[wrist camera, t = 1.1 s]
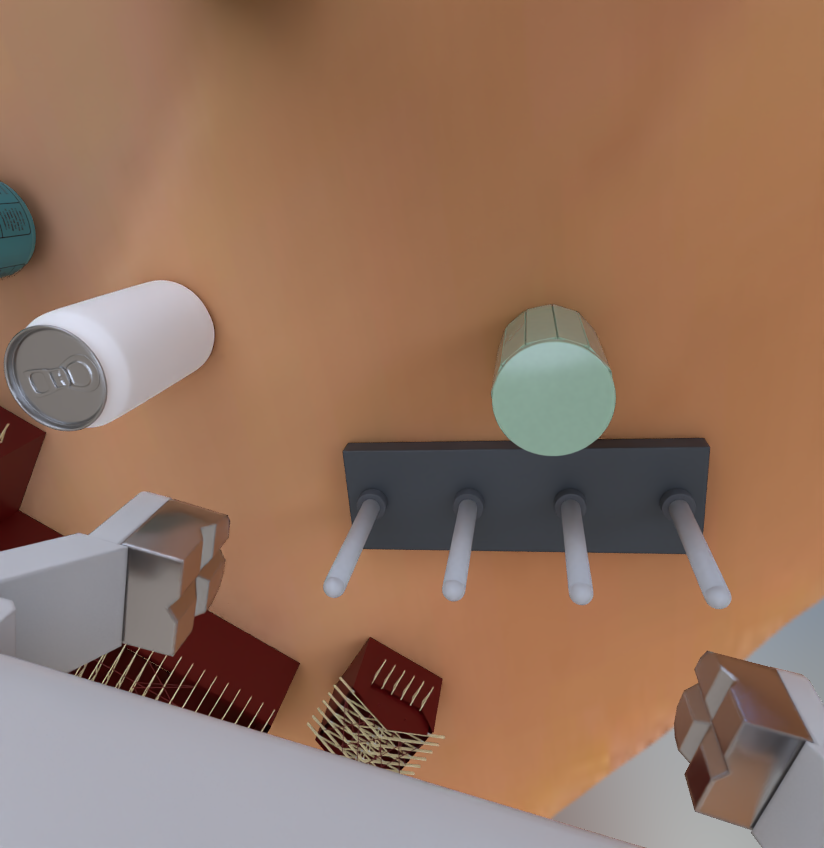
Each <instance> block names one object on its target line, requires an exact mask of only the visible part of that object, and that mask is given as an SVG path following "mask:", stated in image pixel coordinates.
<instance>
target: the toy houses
mask: <svg viewBox="0 0 824 848" xmlns="http://www.w3.org/2000/svg"><path fill="white" fill-rule="evenodd" d="M45 434H46V433H45V432H44V431H42V430H40V429H39V428H37V427H35V426H33V425H32V424H30V423H28V422H26V421H25V420H23V419H21V418H19V417H18V416H16V415H14V414H13V413H11V412H9V411H7V410H6V409H4V408H2V407H0V551H5V550H9V549H13V548H17V547H22V546H26V545H30V544H34V543H39V542H43V541H47V540H51V539H56V538H60V537H64V536H62V535H61V534H59V533H57V532H55V531H54V530H52V529H50V528H48V527H47V526H45V525H43V524H41V523H40V522H38V521H36V520H34V519H33V518H31V517H29V516H27V515H26V514H24V513H22V512H20V511H19V508H20V505H21V502H22V499H23V496H24V493H25V491H26V488H27V485H28V482H29V479H30V477H31V474H32V471H33V468H34V465H35V462H36V460H37V457H38V454H39V451H40V448H41V446H42V443H43V440H44V437H45ZM126 648H129V649H130V650H132V651H134V652H136V654H139V655H141V656H143V657H144V658H146V659H148V660H147V661H146V660H145V659H143V658H141V657H139V656H138V655H136V654H134V653H132V652H130V651H129V650H127V649H126ZM149 660H150V661H152V662H153V663H155V664H157V665H159V667H157V666H155V665H154V664H152V663H150V662H149ZM299 664H300V663H298V662H296V661H295V660H293V659H291V658H289V657H288V656H286V655H284V654H282V653H281V652H279V651H277V650H275V649H274V648H272V647H270V646H268V645H267V644H265V643H263V642H261V641H260V640H258V639H256V638H254V637H253V636H251V635H249V634H247V633H246V632H244V631H242V630H240V629H239V628H237V627H235V626H233V625H232V624H230V623H228V622H226V621H225V620H223V619H221V618H219V617H218V616H216V615H214V614H212V613H211V612H209V611H206V612H205V613H203V614H201V615H198V616H196V617H194V625H193V630H192V632H191V633H190V634H189V636H188V637H187V638H186V640H185V641H184V643H183V644H182V645H181V647H180V648H179V649H178V651H177V652H176V653H175V655H174V656H173V657H172V656H168V655H165V654H161V653H157V652H153V651H150V650H146V649H142V648H138V647H135V646H131V645H127V644H123V643H122V645H121V646H120V647H118V648H116V649H114V650H112V651H110V652H108V653H106V654H104V655H102V656H100V657H99V658H97V659H95V660H93V661H91V662H89V663H87V664H85V665H83V666H81V667H79V668H77V669H75V670H73V671H71V672H69V673H68V674H72V675H75V676H78V677H82V678H85V679H88V680H91V681H95V682H98V683H101V684H105V685H108V686H111V687H115V688H118V689H121V690H125V691H128V692H131V693H134V694H138V695H141V696H144V697H148V698H151V699H154V700H158V701H161V702H164V703H168V704H171V705H174V706H178V707H181V708H184V709H187V710H191V711H194V712H197V713H201V714H204V715H207V716H211V717H214V718H217V719H221V720H224V721H227V722H231V723H234V724H237V725H240V726H244V727H247V728H250V729H254V730H257V731H260V732H264V733H268V731H269V729H270V727H271V725H272V723H273V721H274V719H275V717H276V714H277V712H278V710H279V708H280V706H281V703H282V701H283V699H284V697H285V695H286V693H287V690H288V688H289V686H290V684H291V682H292V680H293V677H294V675H295V673H296V671H297V669H298V666H299ZM160 667H162V668H164V669H166V670H168V671H169V672H171V673H170V674H169V673H168V672H166V671H164V670H162V669H161V668H160ZM339 679H340V680H339V682H338V683H337V685H333V686H334V691H333V693H332V694H331V693H330V692H329V693H328V695H329V696H330V697H331V699H330V701H329V704H327V703H326V701H325V700H323V701H322V702H323V703H324V704H325V705H326V706H327V710H326V712H325V714H324V713H323V712H322V710H321V709H320V708H317V710H318V711H319V712H320V713H321V714H322V716H323V717H324V718H323V720H322V723H320V722H319V721H318V719H317V718H316V717H315V716H314V715H313V716H312V718H313V719H314V720H315V721H316V722H317V723H318V725H319V726H320V728H319V731H318V733H317V732H316V731H315V729H314V728H313V727H312V726H311V725H310V724H309V722H308V723H307V725H308V726H309V727H310V729H311V730H312V731H313V732H314V733H315V735H316V736H317V737H316V739H315V740H316V741H317V742H318V744H319V745H320V746H321V747H322V748H323V749H324V751H327V752H330V753H333V754H336V755H340V756H343V757H346V758H350V759H353V760H356V761H360V762H363V763H366V764H370V765H373V766H376V767H379V768H383V769H386V770H389V771H393V772H396V773H402V774H412V775H415V774H414V772H411V771H401V770H402V768H403V767H404V766H409V767H418V768H420V765H417V764H407V762H408V761H409V760H410V759H416V760H425V761H426V758H424V757H415V756H413V755H414V754H415V753H416V752H424V753H433V752H432V751H431V750H423V749H419V748H420V747H421V746H422V745H424V744H425V745H433V746H439V744H438V743H432V742H425V741H426V740H427V738H428V737H435V738H443V739H445V736H442V735H434V734H432V732H434V726H435V720H436V714H437V708H438V702H439V696H440V690H441V684H442V678H440V677H438V676H437V675H435V674H433V673H431V672H430V671H428V670H426V669H424V668H423V667H421V666H419V665H417V664H416V663H414V662H412V661H411V660H409V659H407V658H405V657H404V656H402V655H400V654H398V653H397V652H395V651H393V650H391V649H390V648H388V647H386V646H385V645H383V644H381V643H379V642H378V641H376V640H374V639H372V638H371V637H370V638H369V639H368V641H367V642H366V643H365V645H364V646H363V648H362V649H361V651H360V652H359V653H358V655H357V656H356V658H355V659H354V660H353V662H352V663H351V665H350V666H349V668H348V669H347V670H346V672H345V673H344V675H343V676H342V677H341V676H340V677H339Z"/></svg>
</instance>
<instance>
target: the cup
mask: <svg viewBox="0 0 824 848" xmlns="http://www.w3.org/2000/svg"><path fill="white" fill-rule="evenodd" d="M491 397H492V406H493V412H494V415H495V419H496V421H497V423H498V425H499V427H500V428H501V430H502V432H503V433H504V434H505V435H506V436H507V438H509V439H510V440H511V441H512V442H513V443H514V444H516V445H517V446H519V447H520V448H522V449H524V450H526V451H529V452H531V453H535V454H538V455H544V456H561V455H567V454H571V453H574V452H577V451H580V450H582V449H584V448H586V447H587V446H589V445H590V444H592V443H593V442H594V441H595V440H597V439H598V438H599V437H600V436H601V434H602V433H603V432H604V431H605V429H606V428H607V427H608V425H609V423H610V421H611V419H612V416H613V413H614V409H615V404H616V392H615V386H614V382H613V378H612V372H611V369H610V367H609V364H608V362H607V359H606V357H605V354H604V352H603V349H602V347H601V345H600V342H599V340H598V337H597V335H596V332H595V330H594V329H593V328H592V327H591V326H590V325H589V323H588V322H587V321H586V320H585V319H584V318H583V317H582V316H581V315H580V313H577V311H574V310H571V309H567V308H564V307H561V306H558V305H554V304H553V305H551V304H549V305H545V306H540V307H536V308H531V309H527V310H526V311H524V312H522V313H521V314H520V315H519V316H518V317H517V318H516V319H515V320H513V321H512V322H511V323H510V324H509V325H508V326H507V327H506V328H505V331H504V334H503V337H502V340H501V343H500V346H499V349H498V353H497V359H496V365H495V371H494V377H493V383H492V389H491Z"/></svg>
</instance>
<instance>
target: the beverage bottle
mask: <svg viewBox="0 0 824 848" xmlns="http://www.w3.org/2000/svg"><path fill="white" fill-rule="evenodd" d="M35 243H36V232H35V226H34V222H33V219H32V216H31V214H30V212H29V210H28V208H27V206H26V204H25V203H24V202H23V200H22V199H21V198H20V196H19V195H18V194H17V193H16V192H15V191H14V190H13V189H11V188H10V187H9V186H8V185H6V184H4V183H3V182H1V181H0V277H1V278H2V277H4V276H5V277H6V276H8V275H9V278H10V275H11V274H12V275H13V274H14V273H16V272H17V271H19V270H20V269H21V268H23V267H24V266H25V265H26V264H27V263H28V261H29V260H30V259H31V257H32V255H33V252H34V249H35ZM16 274H17V273H16ZM13 276H14V275H13ZM2 280H3V279H2Z"/></svg>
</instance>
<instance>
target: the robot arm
mask: <svg viewBox="0 0 824 848" xmlns="http://www.w3.org/2000/svg"><path fill="white" fill-rule="evenodd" d="M229 528H230V520H229V517H228V515H225V514H222V513H219V512H215V511H212V510H209V509H205V508H202V507H199V506H195V505H192V504H189V503H186V502H182V501H179V500H176V499H172V498H169V497H166V496H162V495H158V494H155V493H151V492H140V493H139V494H138V495H136V496H135V497H134V498H133V499H131V500H130V501H129V502H128V503H127V504H125V505H124V506H123V507H122V508H121V509H119V510H118V511H117V512H116V513H114V514H113V515H112V516H111V517H110V518H108V519H107V520H106V521H105V522H103V523H102V524H101V525H100V526H99V527H97V528H96V529H95V530H94V531H92V532H91V533H90V534H89V535H85V534H81V533H77V534H73V535H68V536H64V537H60V538H56V539H51V540H47V541H43V542H39V543H34V544H30V545H26V546H22V547H17V548H13V549H9V550H5V551H0V848H645V847H641V846H638V845H635V844H631V843H628V842H624V841H621V840H618V839H615V838H611V837H608V836H604V835H601V834H598V833H595V832H591V831H588V830H585V829H581V828H578V827H575V826H572V825H568V824H565V823H561V822H558V821H555V820H552V819H548V818H545V817H542V816H538V815H535V814H532V813H528V812H525V811H522V810H519V809H515V808H512V807H509V806H505V805H502V804H499V803H495V802H492V801H489V800H485V799H482V798H479V797H476V796H472V795H469V794H466V793H462V792H459V791H456V790H452V789H449V788H446V787H442V786H439V785H436V784H432V783H429V782H426V781H423V780H419V779H416V778H413V777H409V776H406V775H403V774H399V773H396V772H393V771H389V770H386V769H383V768H379V767H376V766H373V765H370V764H366V763H363V762H360V761H356V760H353V759H350V758H346V757H343V756H340V755H336V754H333V753H330V752H327V751H323V750H320V749H317V748H313V747H310V746H307V745H303V744H300V743H297V742H293V741H290V740H287V739H283V738H280V737H277V736H274V735H270V734H267V733H264V732H260V731H257V730H254V729H250V728H247V727H244V726H240V725H237V724H234V723H231V722H227V721H224V720H221V719H217V718H214V717H211V716H207V715H204V714H201V713H197V712H194V711H191V710H187V709H184V708H181V707H178V706H174V705H171V704H168V703H164V702H161V701H158V700H154V699H151V698H148V697H144V696H141V695H138V694H134V693H131V692H128V691H125V690H121V689H118V688H115V687H111V686H108V685H105V684H101V683H98V682H95V681H91V680H88V679H85V678H82V677H78V676H75V675H72V674H68V673H69V672H71V671H73V670H75V669H77V668H79V667H81V666H83V665H85V664H87V663H89V662H91V661H93V660H95V659H97V658H99V657H100V656H102V655H104V654H106V653H108V652H110V651H112V650H114V649H116V648H118V647H120V646H121V645H122V643H123V644H127V645H131V646H135V647H138V648H142V649H146V650H150V651H153V652H157V653H161V654H165V655H168V656H172V657H173V656H174V655H175V653H176V652H177V651H178V649H179V648H180V647H181V645H182V644H183V643H184V641H185V640H186V638H187V637H188V636H189V634H190V633H191V632H192V630H193V625H194V617H196V616H198V615H201V614H203V613H205V612H206V611H207V609H208V608H209V607H210V605H211V604H212V602H213V600H214V598H215V596H216V594H217V592H218V589H219V587H220V584H221V581H222V577H223V573H224V567H225V561H226V560H225V558H224V556H223V554H222V552H221V550H220V548H221V547H222V546H223V544H224V543H225V542H226V540H227V539H228V538H229ZM694 670H695V673H696V676H697V679H698V682H699V683H697V684H695V685H694V686H692V687H690V688H688V689H686V690H684V692H683V694H682V696H681V699H680V701H679V703H678V706H677V710H676V716H675V722H674V730H675V739H676V743H677V747H678V751H679V752H680V753H681V754H682V755H683V756H684V757H685V759H686V760H687V761H688V762H689V763H690V764H689V767H688V768H687V770H686V772H685V777H686V781H687V785H688V788H689V791H690V795H691V799H692V802H693V806H694V810H695V812H698V813H701V814H704V815H707V816H710V817H713V818H716V819H719V820H722V821H725V822H728V823H731V824H734V825H737V826H741V827H744V828H747V829H750V830H752V831H751V833H752V835H753V836H754V837H755V839H756V840H757V841H758V843H759V844H760V845H761V847H762V848H824V704H823V703H822V701H821V699H820V697H819V696H818V694H817V693H816V691H815V689H814V687H813V685H812V684H811V682H810V680H808V679H807V678H806V677H804V676H803V675H802V674H798V673H794V672H789V671H786V670H782V669H777V668H773V667H768V666H763V665H760V664H756V663H752V662H748V661H745V660H741V659H737V658H733V657H729V656H725V655H722V654H718V653H714V652H710V651H707V652H706V653H705V654H704V655H703V656H702V657H701V658H700V660H699V661H698V663H697V665H696V667H695V669H694Z"/></svg>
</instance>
